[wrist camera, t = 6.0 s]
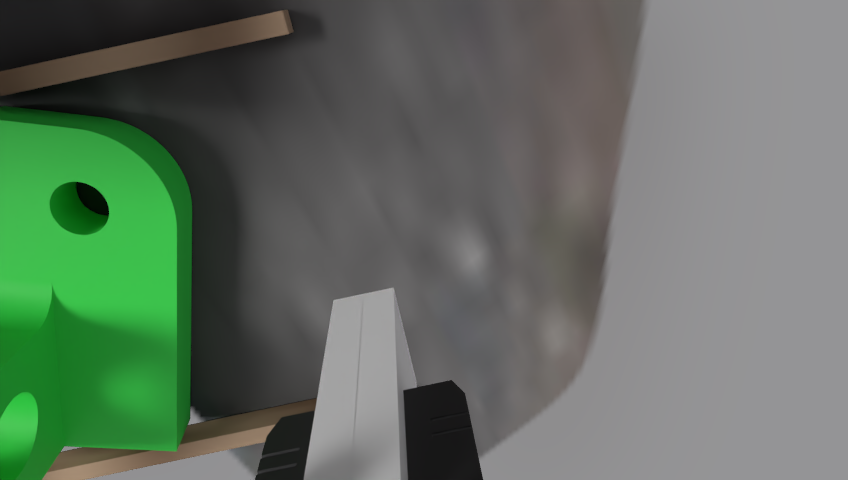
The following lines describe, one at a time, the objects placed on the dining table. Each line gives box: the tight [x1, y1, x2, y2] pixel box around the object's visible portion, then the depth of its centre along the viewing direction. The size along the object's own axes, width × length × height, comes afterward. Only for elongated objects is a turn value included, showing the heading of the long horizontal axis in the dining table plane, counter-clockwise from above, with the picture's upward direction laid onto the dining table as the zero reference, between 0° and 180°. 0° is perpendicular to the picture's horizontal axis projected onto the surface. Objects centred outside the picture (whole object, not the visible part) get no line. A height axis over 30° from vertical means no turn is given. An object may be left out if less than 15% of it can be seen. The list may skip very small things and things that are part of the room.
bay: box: [0, 10, 317, 480], centre depth 22 cm, size 21×15×2 cm
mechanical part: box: [0, 106, 192, 480], centre depth 19 cm, size 12×6×8 cm, turn 172°
